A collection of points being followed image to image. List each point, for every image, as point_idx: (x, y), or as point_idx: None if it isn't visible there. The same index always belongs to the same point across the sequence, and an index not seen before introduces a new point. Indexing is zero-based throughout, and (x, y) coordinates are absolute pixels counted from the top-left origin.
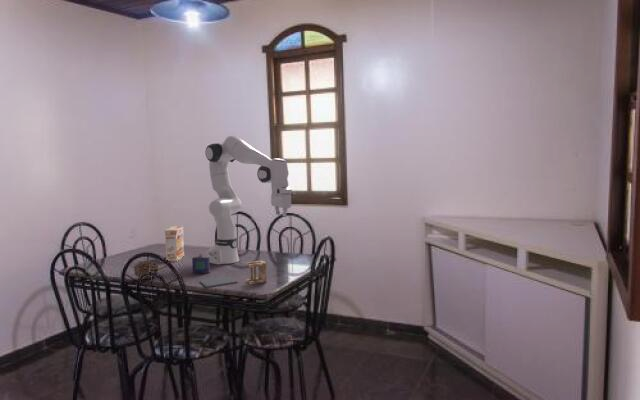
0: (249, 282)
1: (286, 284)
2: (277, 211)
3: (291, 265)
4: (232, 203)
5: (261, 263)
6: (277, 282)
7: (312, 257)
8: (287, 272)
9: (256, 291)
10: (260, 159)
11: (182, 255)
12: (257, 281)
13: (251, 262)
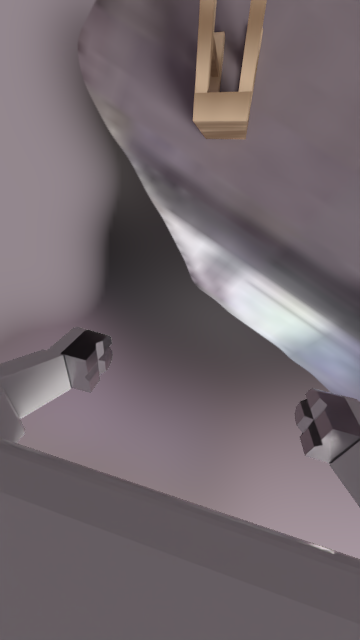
0: (220, 33)
1: (145, 188)
2: (336, 441)
3: (308, 320)
4: None
5: (195, 84)
6: (177, 174)
7: None
8: (252, 266)
9: (117, 21)
10: None
11: None
12: (210, 85)
13: (249, 18)
